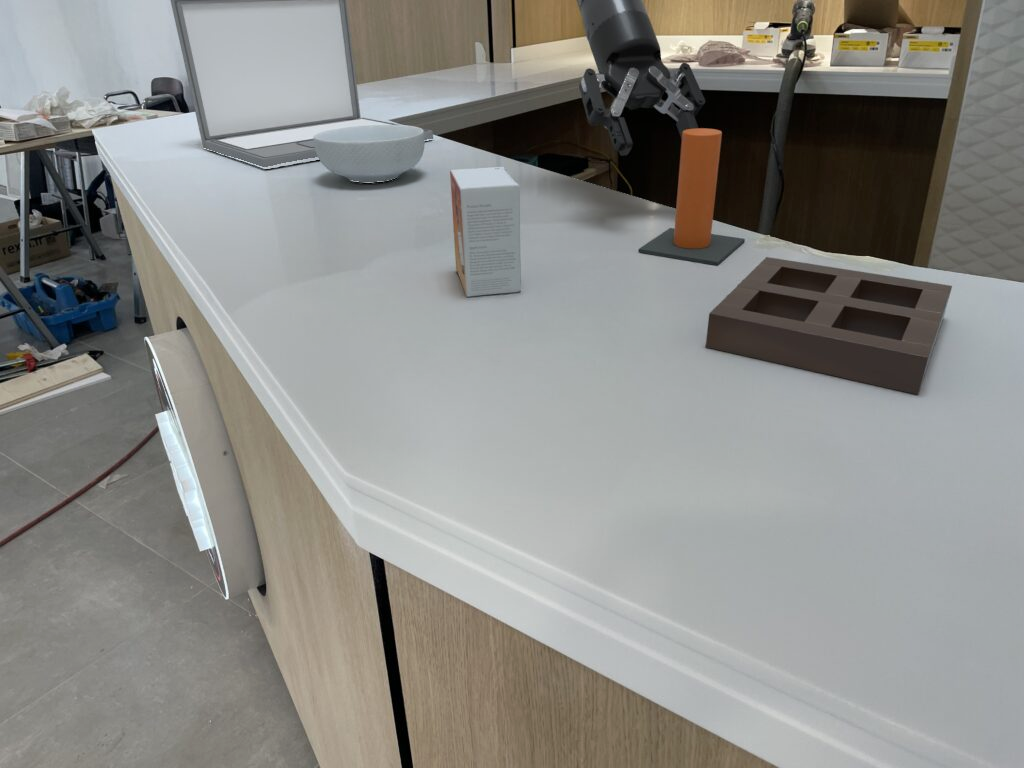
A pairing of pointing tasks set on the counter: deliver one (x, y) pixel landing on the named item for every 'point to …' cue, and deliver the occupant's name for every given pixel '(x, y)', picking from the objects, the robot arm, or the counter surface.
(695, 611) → the counter surface
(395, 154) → the cereal bowl
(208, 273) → the counter surface
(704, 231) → the peg
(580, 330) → the counter surface
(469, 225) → the small box
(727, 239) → the mat
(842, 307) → the peg board
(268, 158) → the laptop
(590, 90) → the robot arm
